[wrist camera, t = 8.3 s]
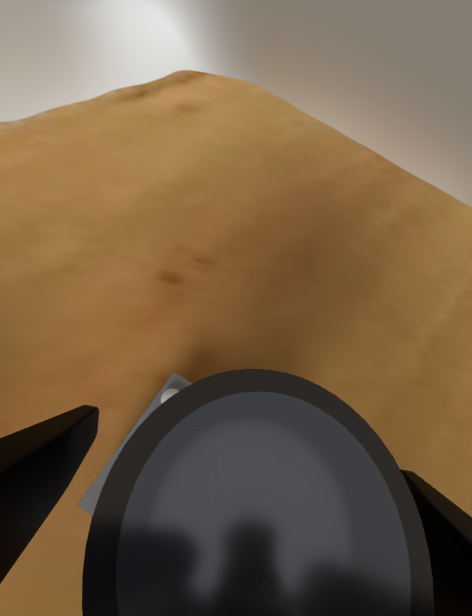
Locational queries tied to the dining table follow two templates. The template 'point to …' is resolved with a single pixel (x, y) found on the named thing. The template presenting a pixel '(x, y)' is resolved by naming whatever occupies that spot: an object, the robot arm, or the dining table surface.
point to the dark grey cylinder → (256, 510)
